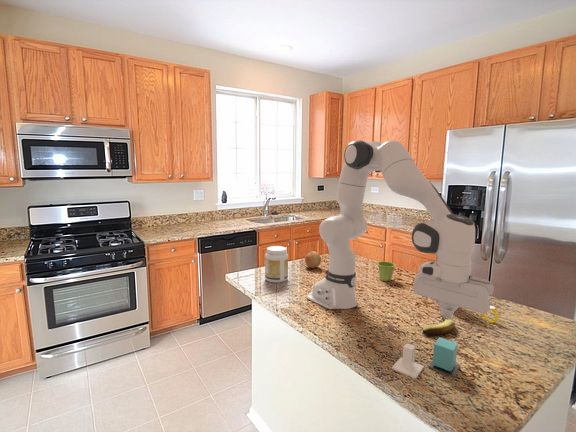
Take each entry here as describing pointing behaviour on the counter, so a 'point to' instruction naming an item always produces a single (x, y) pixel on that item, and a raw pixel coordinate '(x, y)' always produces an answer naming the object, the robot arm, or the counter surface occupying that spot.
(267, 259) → the supplement tub
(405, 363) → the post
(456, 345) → the teal rectangular block
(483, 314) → the watch
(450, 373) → the post
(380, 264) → the plant pot
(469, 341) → the counter surface
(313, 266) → the brown round ball
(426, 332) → the banana
